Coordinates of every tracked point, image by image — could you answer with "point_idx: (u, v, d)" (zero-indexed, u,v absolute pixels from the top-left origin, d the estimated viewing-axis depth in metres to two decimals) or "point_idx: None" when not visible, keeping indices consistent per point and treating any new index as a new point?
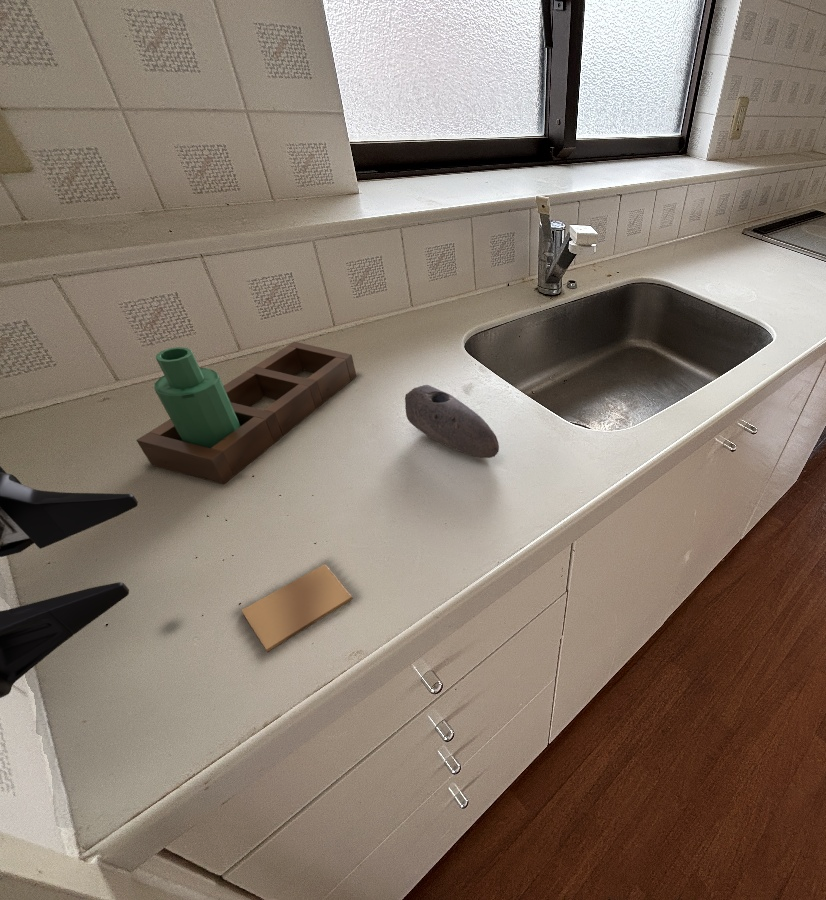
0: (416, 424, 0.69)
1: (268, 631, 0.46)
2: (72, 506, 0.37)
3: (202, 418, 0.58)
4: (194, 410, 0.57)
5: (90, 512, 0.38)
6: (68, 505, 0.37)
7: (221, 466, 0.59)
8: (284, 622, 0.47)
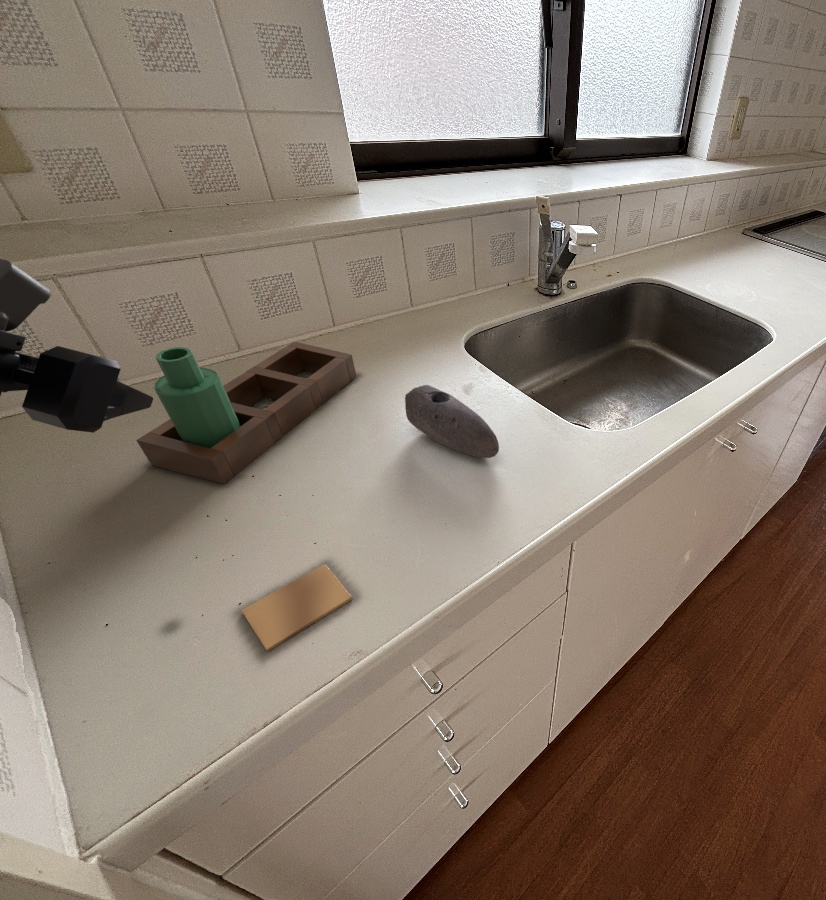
0: (416, 424, 0.69)
1: (268, 631, 0.46)
2: None
3: (202, 418, 0.58)
4: (194, 410, 0.57)
5: None
6: None
7: (221, 466, 0.59)
8: (284, 622, 0.47)
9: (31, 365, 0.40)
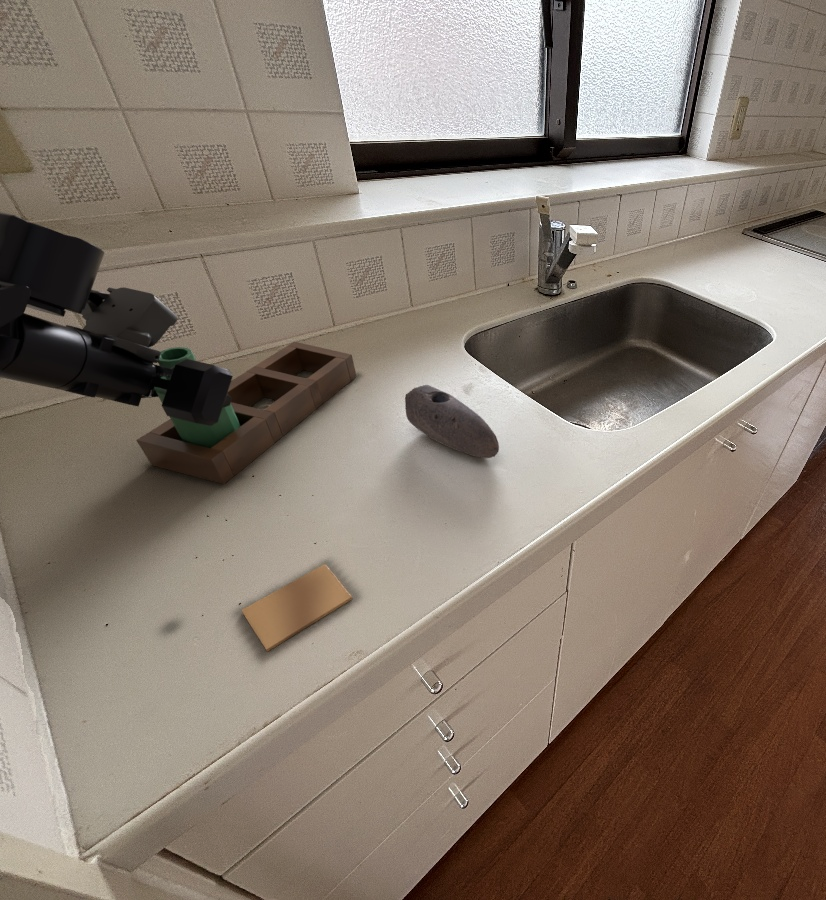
0: (416, 424, 0.69)
1: (268, 631, 0.46)
2: (157, 377, 0.57)
3: None
4: None
5: None
6: (156, 375, 0.57)
7: (221, 466, 0.59)
8: (284, 622, 0.47)
9: None
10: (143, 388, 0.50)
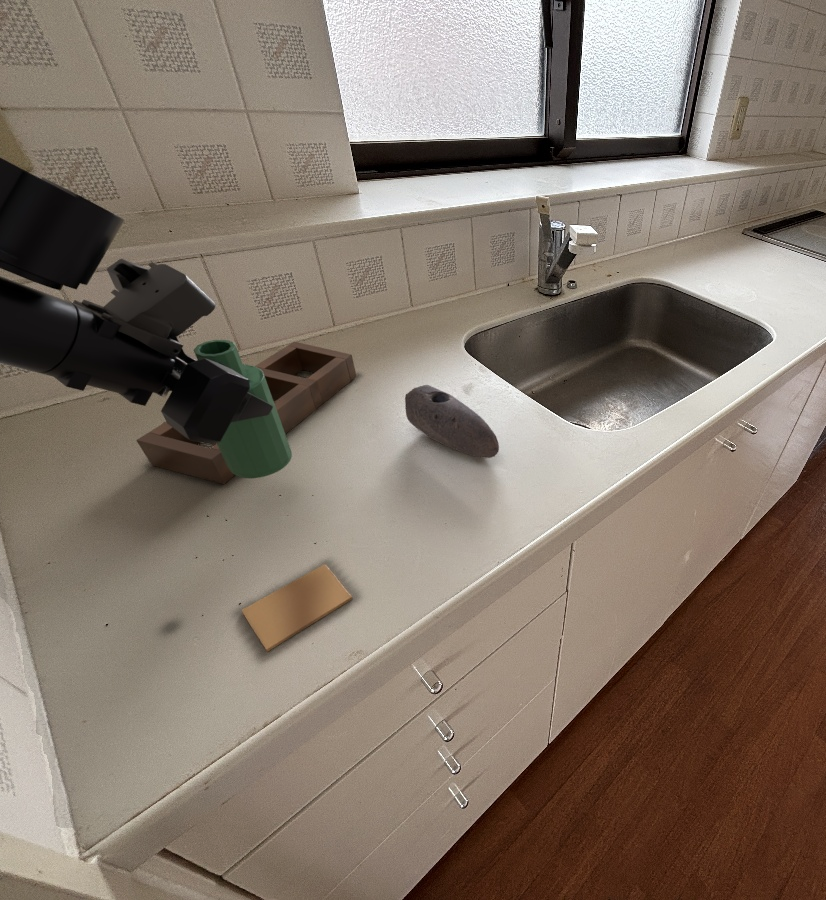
0: (416, 424, 0.69)
1: (268, 631, 0.46)
2: None
3: (233, 425, 0.49)
4: None
5: None
6: None
7: (221, 466, 0.59)
8: (284, 622, 0.47)
9: None
10: (153, 385, 0.41)
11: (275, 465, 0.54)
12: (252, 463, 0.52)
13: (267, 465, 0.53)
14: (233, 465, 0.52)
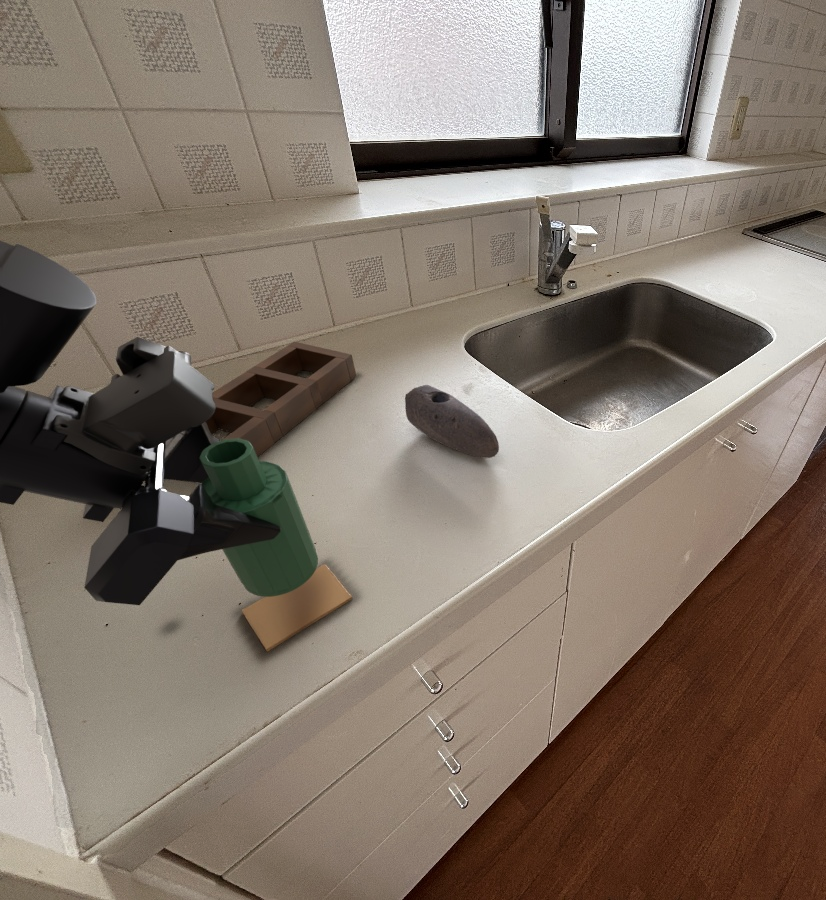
0: (416, 424, 0.69)
1: (268, 631, 0.46)
2: None
3: None
4: None
5: None
6: None
7: None
8: (284, 622, 0.47)
9: (150, 477, 0.33)
10: (112, 502, 0.32)
11: (282, 587, 0.43)
12: (254, 582, 0.42)
13: (271, 587, 0.42)
14: (237, 575, 0.42)
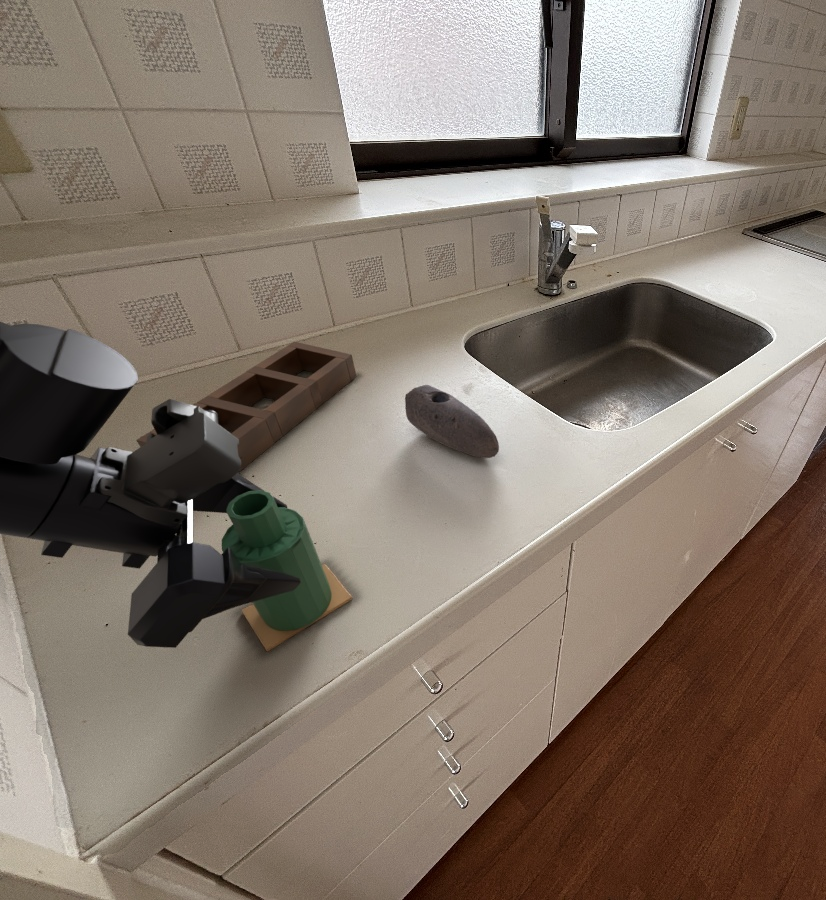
0: (416, 424, 0.69)
1: (268, 631, 0.46)
2: None
3: None
4: None
5: None
6: None
7: None
8: None
9: (181, 541, 0.35)
10: (148, 552, 0.35)
11: (299, 622, 0.46)
12: (273, 618, 0.45)
13: (289, 622, 0.46)
14: (258, 612, 0.46)
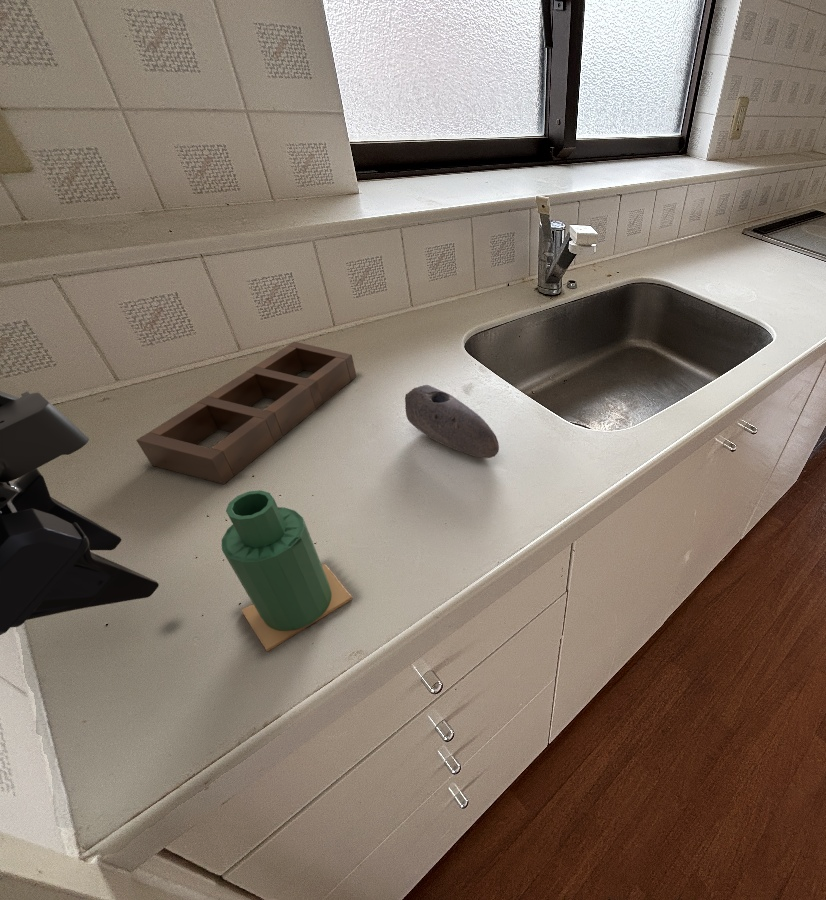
0: (416, 424, 0.69)
1: (268, 631, 0.46)
2: (73, 521, 0.39)
3: (253, 586, 0.42)
4: (244, 576, 0.41)
5: None
6: (72, 518, 0.39)
7: (221, 466, 0.59)
8: None
9: None
10: None
11: (299, 622, 0.46)
12: (273, 618, 0.45)
13: (289, 622, 0.46)
14: (258, 612, 0.46)
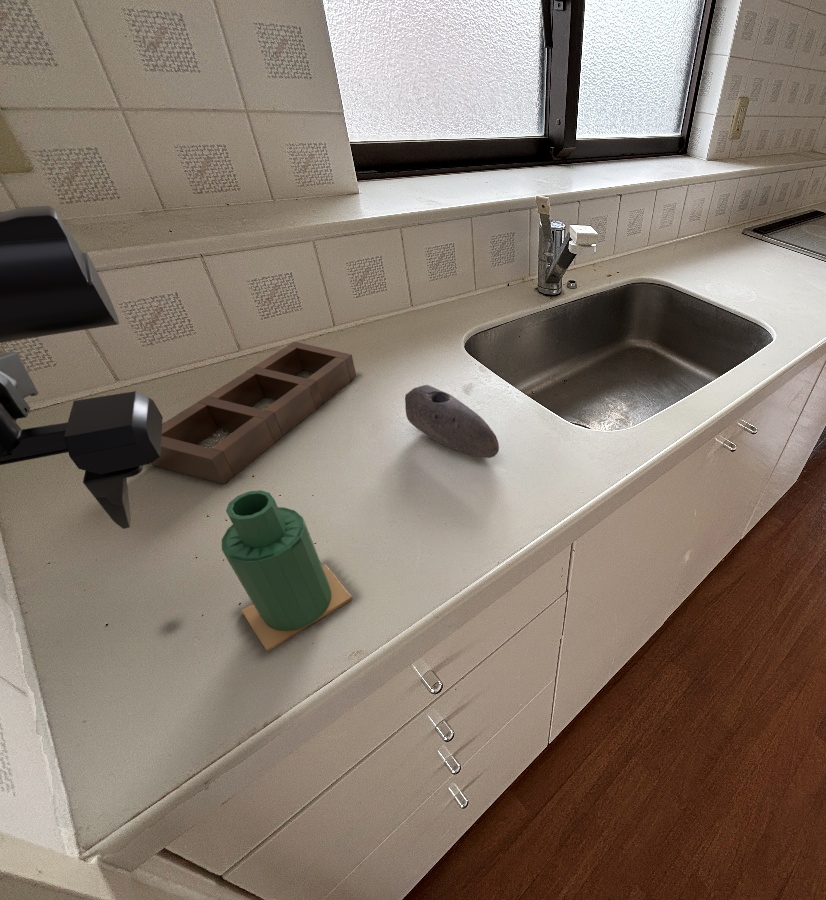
0: (416, 424, 0.69)
1: (268, 631, 0.46)
2: None
3: (253, 586, 0.42)
4: (244, 576, 0.41)
5: None
6: None
7: (221, 466, 0.59)
8: None
9: None
10: (8, 439, 0.31)
11: (299, 622, 0.46)
12: (273, 618, 0.45)
13: (289, 622, 0.46)
14: (258, 612, 0.46)
